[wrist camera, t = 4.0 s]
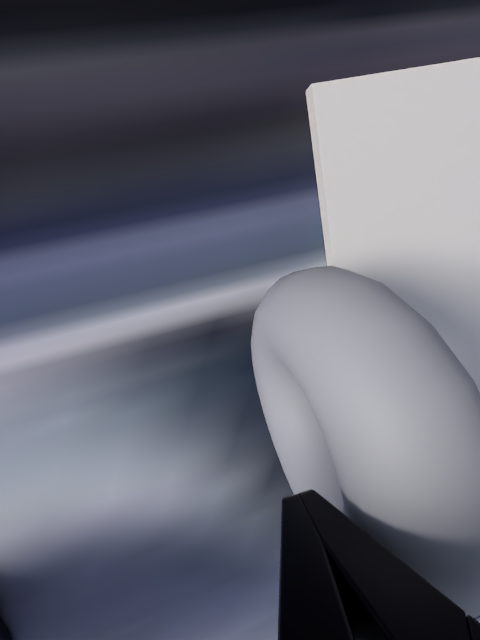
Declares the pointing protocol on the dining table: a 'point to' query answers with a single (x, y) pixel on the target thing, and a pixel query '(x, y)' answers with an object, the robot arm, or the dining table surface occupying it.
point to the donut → (375, 419)
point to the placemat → (406, 189)
